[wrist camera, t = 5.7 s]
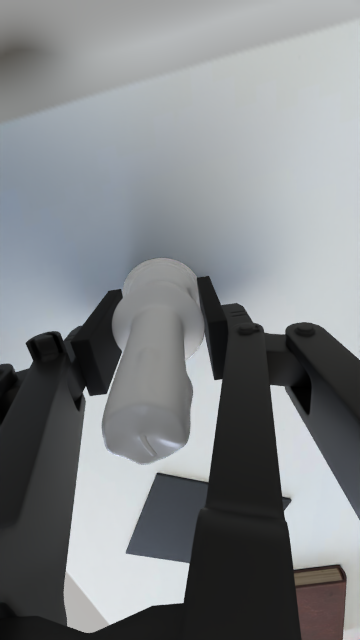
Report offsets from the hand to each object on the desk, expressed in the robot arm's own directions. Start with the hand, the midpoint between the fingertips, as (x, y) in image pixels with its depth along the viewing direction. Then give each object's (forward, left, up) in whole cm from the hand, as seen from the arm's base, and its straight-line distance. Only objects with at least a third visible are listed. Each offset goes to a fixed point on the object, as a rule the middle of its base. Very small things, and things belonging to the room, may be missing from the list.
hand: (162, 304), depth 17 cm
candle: (0, 0, -1) cm, 1 cm away
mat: (+11, -24, -1) cm, 27 cm away
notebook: (+28, -39, -1) cm, 48 cm away
